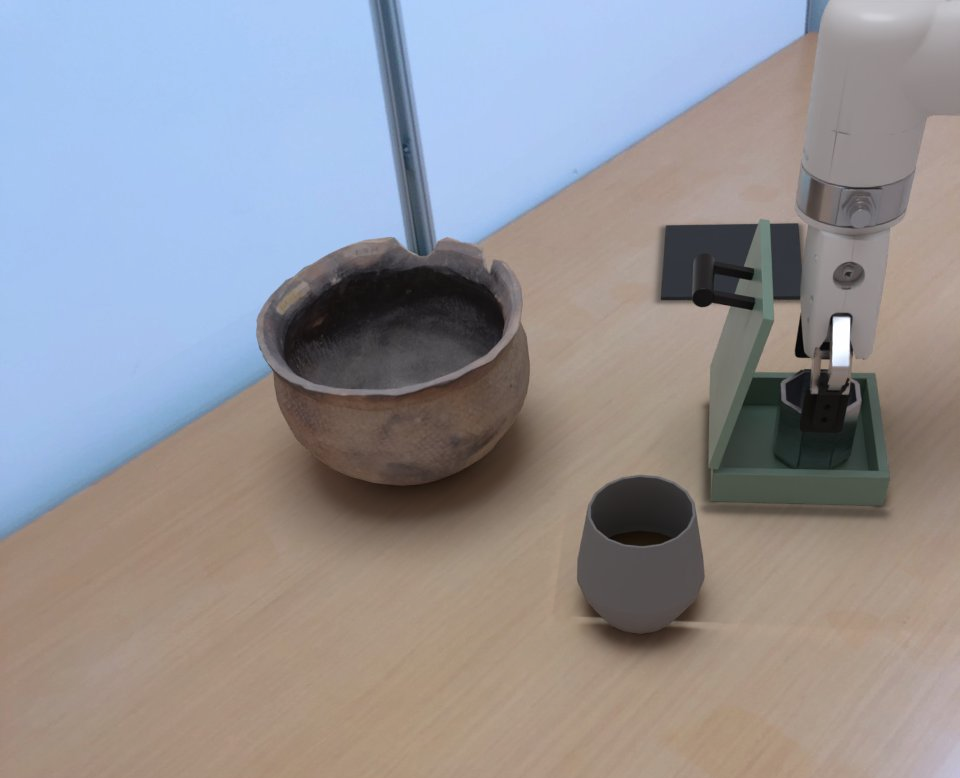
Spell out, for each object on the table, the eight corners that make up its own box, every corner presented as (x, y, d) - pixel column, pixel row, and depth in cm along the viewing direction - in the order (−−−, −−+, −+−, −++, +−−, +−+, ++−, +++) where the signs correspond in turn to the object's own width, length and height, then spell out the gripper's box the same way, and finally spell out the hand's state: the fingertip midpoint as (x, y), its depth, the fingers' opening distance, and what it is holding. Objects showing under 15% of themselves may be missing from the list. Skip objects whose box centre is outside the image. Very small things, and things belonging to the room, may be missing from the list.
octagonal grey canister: (846, 427, 95) (857, 369, 90) (851, 474, 91) (863, 416, 86) (772, 426, 96) (779, 368, 91) (774, 473, 92) (782, 415, 87)
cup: (722, 589, 85) (733, 491, 77) (665, 670, 80) (670, 575, 73) (615, 547, 89) (615, 451, 81) (555, 622, 84) (548, 528, 77)
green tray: (868, 408, 97) (875, 372, 94) (881, 513, 89) (890, 477, 86) (711, 406, 99) (714, 371, 97) (709, 508, 91) (712, 473, 88)
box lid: (770, 220, 85) (701, 207, 85) (774, 320, 77) (698, 305, 77) (718, 367, 96) (658, 356, 96) (717, 470, 88) (651, 457, 88)
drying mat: (797, 226, 118) (798, 223, 118) (803, 299, 109) (804, 296, 109) (665, 228, 120) (666, 225, 120) (660, 300, 111) (660, 296, 111)
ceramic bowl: (574, 401, 102) (568, 253, 91) (476, 558, 90) (455, 410, 78) (366, 360, 109) (337, 218, 98) (250, 500, 97) (201, 357, 86)
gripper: (924, 254, 70) (874, 463, 82) (898, 129, 81) (857, 330, 94) (802, 254, 71) (771, 460, 84) (792, 131, 82) (766, 330, 95)
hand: (816, 391), depth 89 cm, fingers open, 9 cm apart
